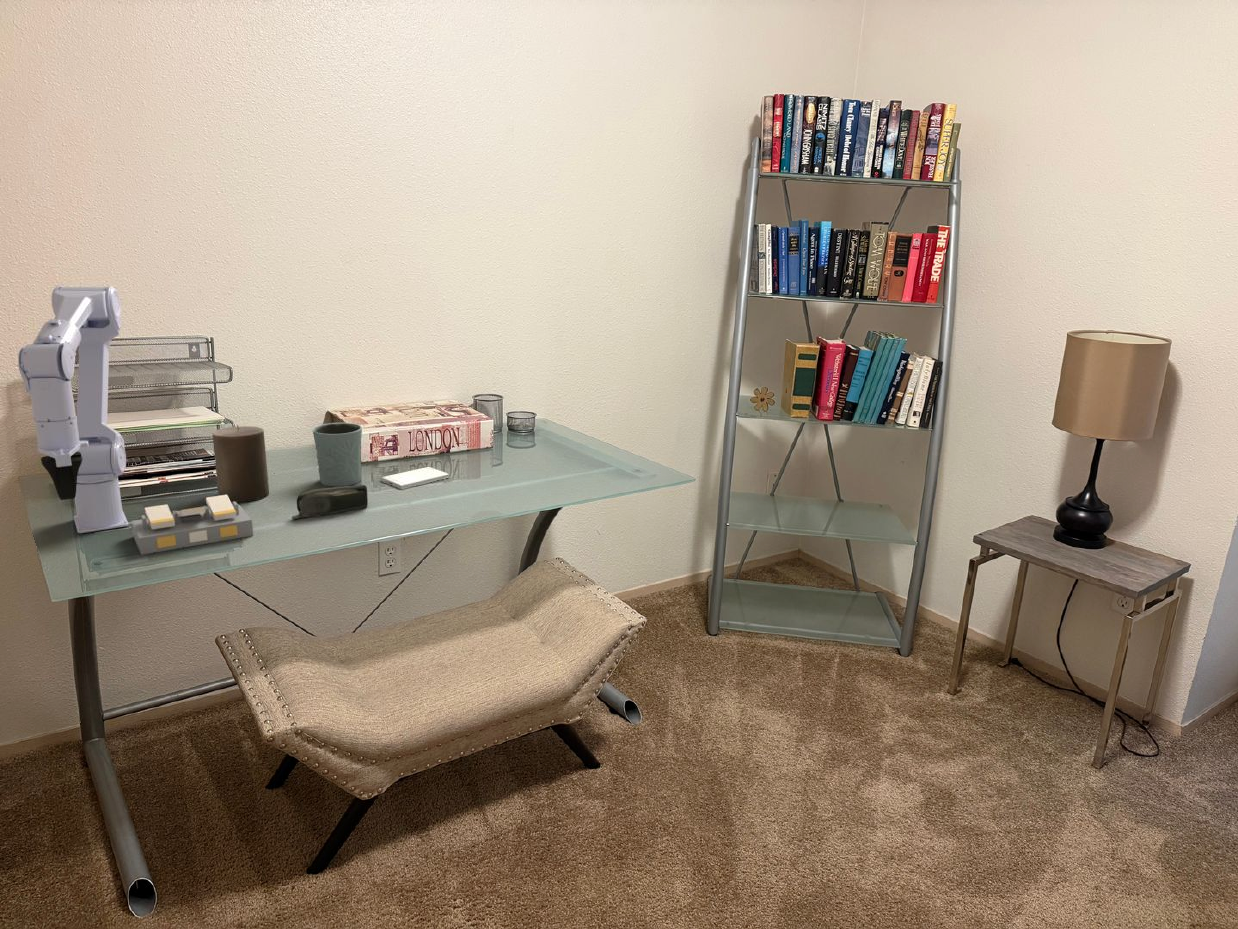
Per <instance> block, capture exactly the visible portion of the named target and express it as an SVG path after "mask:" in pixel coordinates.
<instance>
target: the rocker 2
mask: <svg viewBox="0 0 1238 929" xmlns="http://www.w3.org/2000/svg"><path fill="white" fill-rule="evenodd" d="M176 511H177V512H178V517H180V516H187V515H193V514H200V513H205V507H203V506H198V507H193V508H185V509H181V510H176Z"/></svg>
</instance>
